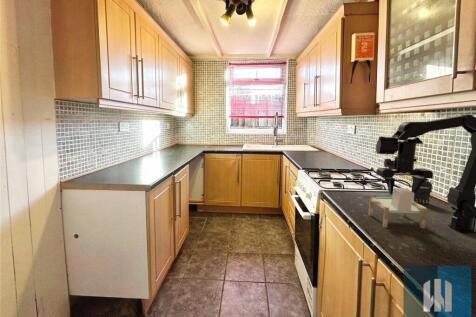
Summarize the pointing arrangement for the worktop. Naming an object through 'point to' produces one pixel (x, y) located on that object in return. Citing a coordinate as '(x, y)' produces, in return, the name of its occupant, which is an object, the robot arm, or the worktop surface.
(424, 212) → the frame
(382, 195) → the disk drive
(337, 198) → the worktop surface
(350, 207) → the worktop surface
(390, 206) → the trapdoor
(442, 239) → the worktop surface
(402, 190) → the stone block
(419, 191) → the battery charger
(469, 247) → the worktop surface
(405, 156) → the robot arm
